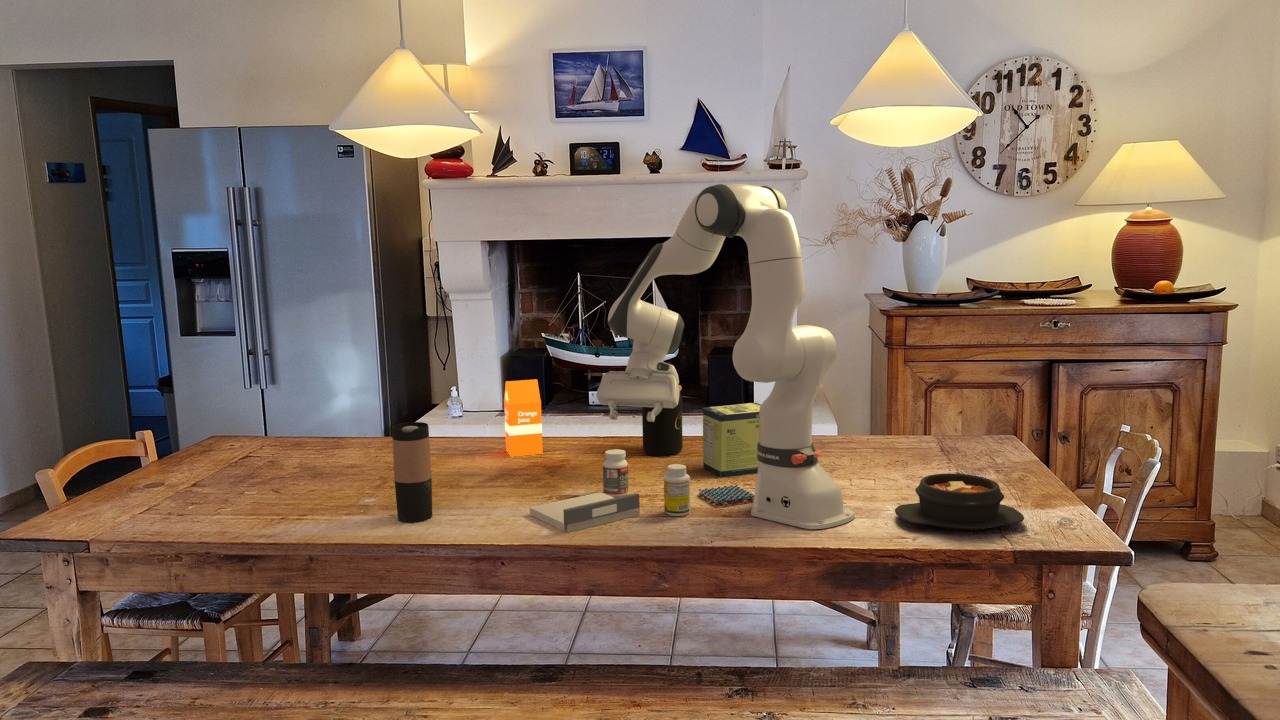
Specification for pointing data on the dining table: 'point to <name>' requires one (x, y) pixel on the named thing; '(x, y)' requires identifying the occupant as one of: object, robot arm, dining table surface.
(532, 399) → the orange juice
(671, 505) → the supplement bottle
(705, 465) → the protein box
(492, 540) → the dining table surface
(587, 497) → the shelf
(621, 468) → the pill bottle
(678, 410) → the coffee jar
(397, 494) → the travel mug
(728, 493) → the woven mat
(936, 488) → the casserole
